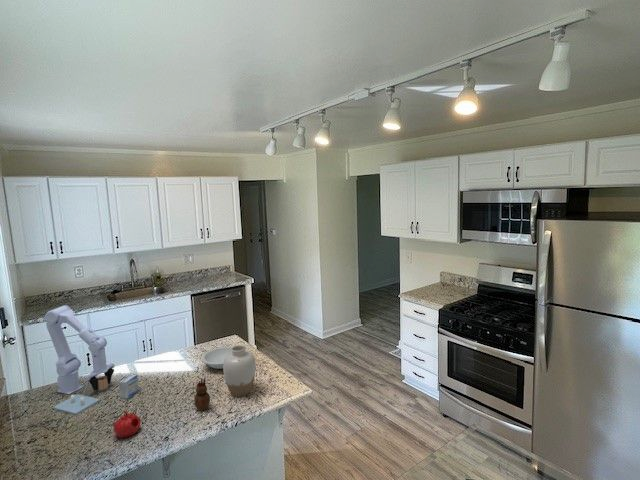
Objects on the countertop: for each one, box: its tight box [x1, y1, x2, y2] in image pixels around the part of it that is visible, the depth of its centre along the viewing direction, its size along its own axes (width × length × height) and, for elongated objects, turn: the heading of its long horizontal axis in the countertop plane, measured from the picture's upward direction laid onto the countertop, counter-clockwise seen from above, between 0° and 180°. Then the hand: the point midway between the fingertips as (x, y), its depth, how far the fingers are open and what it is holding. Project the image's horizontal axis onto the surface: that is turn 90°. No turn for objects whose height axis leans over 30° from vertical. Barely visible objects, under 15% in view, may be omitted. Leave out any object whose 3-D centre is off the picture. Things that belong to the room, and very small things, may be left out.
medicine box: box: [118, 374, 140, 399], centre depth 176 cm, size 8×4×9 cm, turn 168°
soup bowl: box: [201, 345, 235, 370], centre depth 205 cm, size 24×24×7 cm
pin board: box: [52, 393, 101, 416], centre depth 168 cm, size 16×12×4 cm
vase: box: [222, 344, 257, 398], centre depth 175 cm, size 16×16×23 cm
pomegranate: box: [113, 410, 142, 438], centre depth 146 cm, size 10×10×9 cm
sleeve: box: [95, 375, 109, 393], centre depth 182 cm, size 5×5×6 cm
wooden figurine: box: [193, 377, 211, 411], centre depth 162 cm, size 7×6×15 cm
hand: (102, 386), depth 182 cm, fingers open, 6 cm apart
